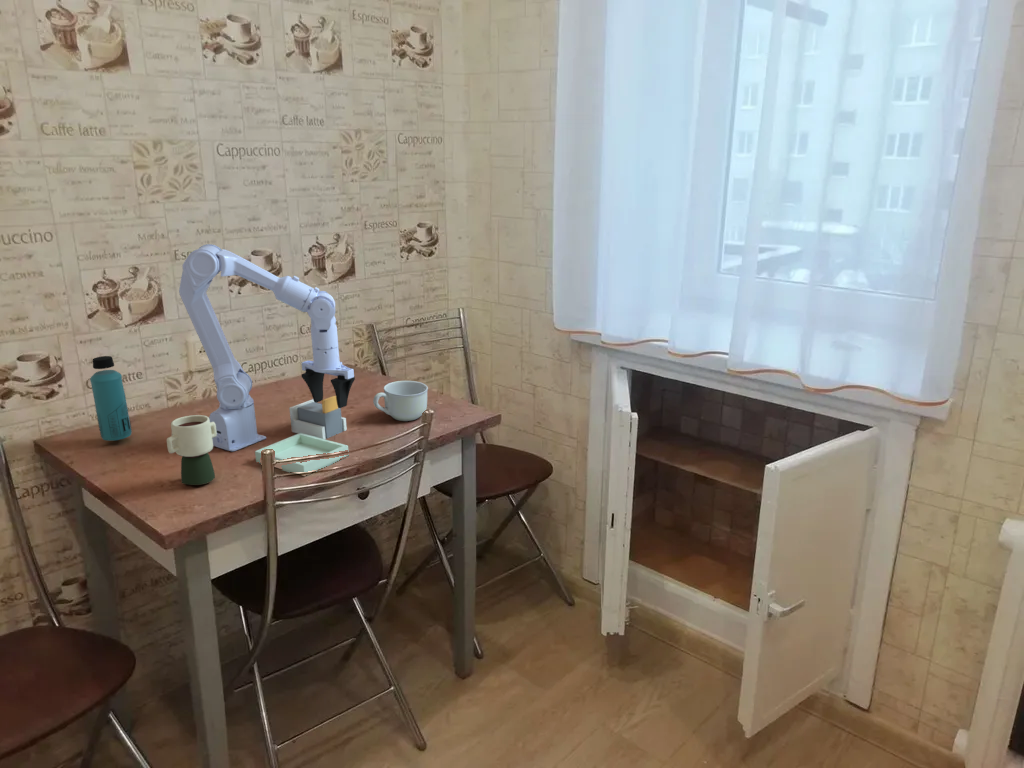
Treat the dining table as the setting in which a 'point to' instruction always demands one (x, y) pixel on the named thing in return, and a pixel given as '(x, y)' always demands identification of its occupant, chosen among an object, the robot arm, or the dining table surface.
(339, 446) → the tray
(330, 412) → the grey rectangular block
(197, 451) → the character mug
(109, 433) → the beverage bottle
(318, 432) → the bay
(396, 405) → the teacup
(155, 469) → the dining table surface
